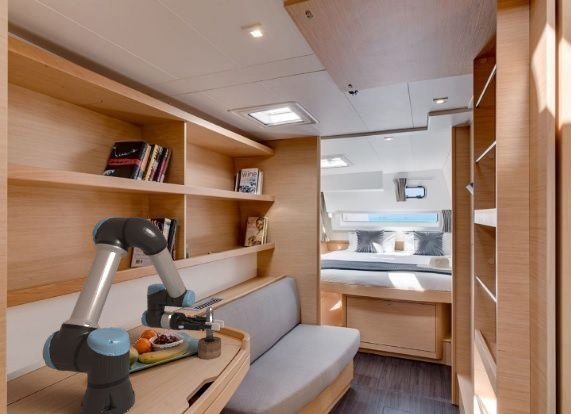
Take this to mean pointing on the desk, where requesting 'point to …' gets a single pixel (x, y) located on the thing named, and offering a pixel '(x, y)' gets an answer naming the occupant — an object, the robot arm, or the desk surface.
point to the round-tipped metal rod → (210, 320)
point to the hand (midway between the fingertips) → (221, 325)
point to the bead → (209, 348)
